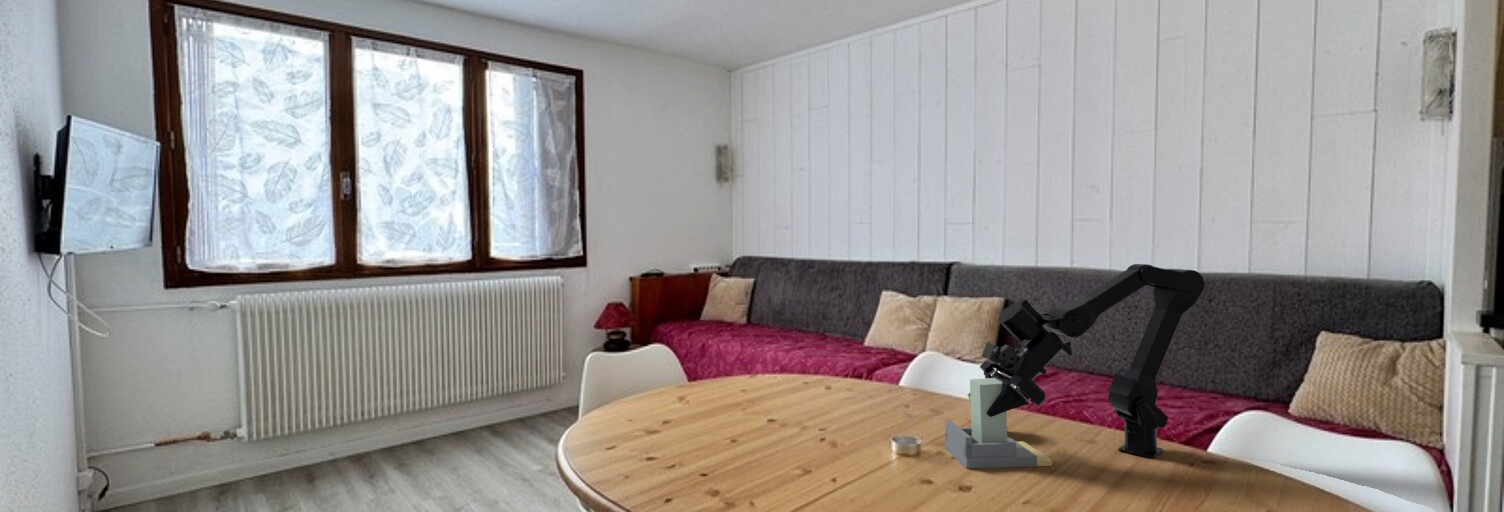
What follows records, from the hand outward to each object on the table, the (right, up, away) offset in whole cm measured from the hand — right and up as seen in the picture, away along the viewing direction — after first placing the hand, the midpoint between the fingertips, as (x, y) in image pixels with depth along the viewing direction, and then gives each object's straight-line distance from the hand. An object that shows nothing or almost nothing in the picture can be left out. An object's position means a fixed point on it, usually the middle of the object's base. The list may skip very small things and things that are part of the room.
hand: (982, 411), depth 131 cm
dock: (+3, -9, 0) cm, 10 cm away
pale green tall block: (+1, -7, 0) cm, 7 cm away
